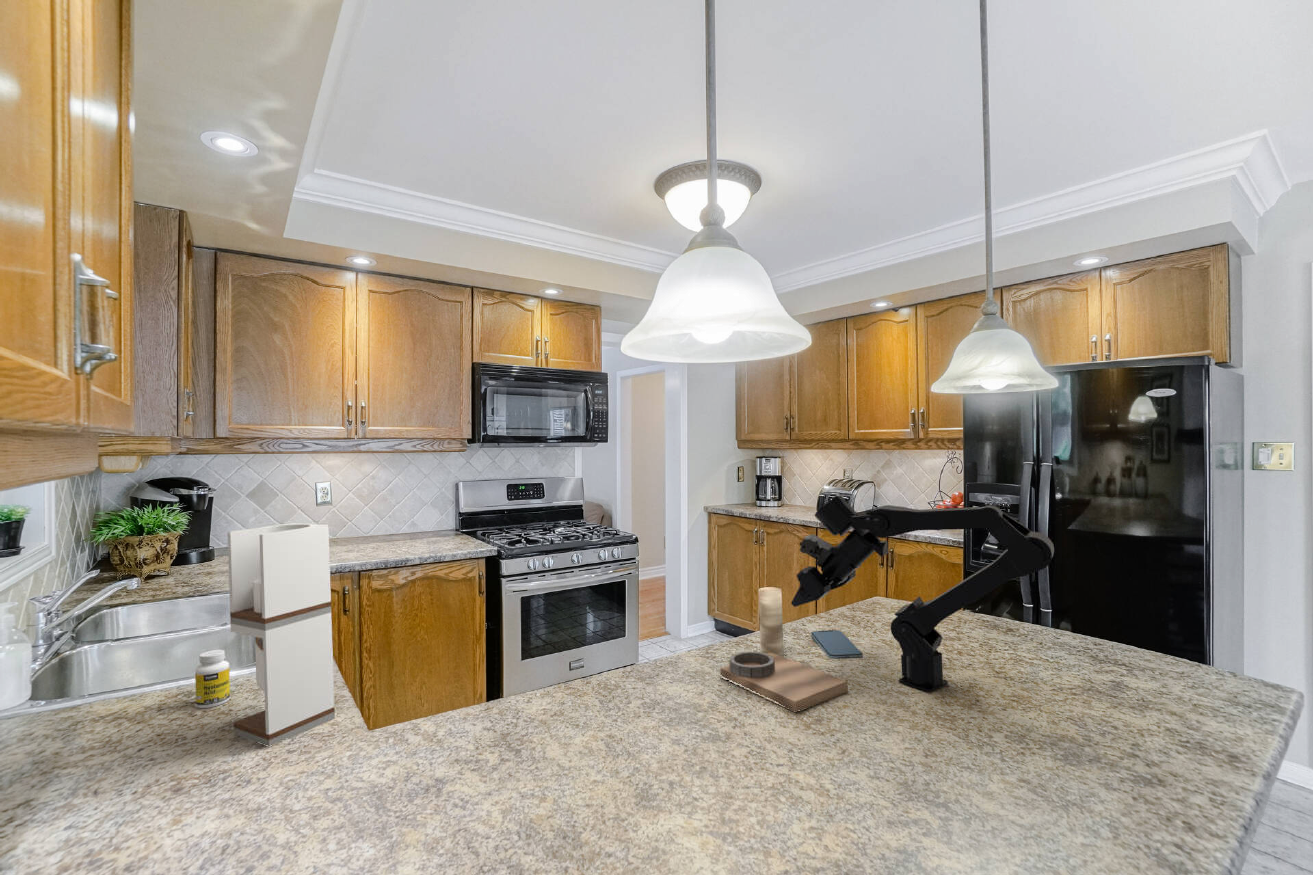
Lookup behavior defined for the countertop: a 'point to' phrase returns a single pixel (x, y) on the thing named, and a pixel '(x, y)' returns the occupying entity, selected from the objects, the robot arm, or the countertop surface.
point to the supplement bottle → (212, 679)
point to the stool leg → (771, 620)
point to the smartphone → (835, 644)
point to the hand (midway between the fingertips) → (802, 599)
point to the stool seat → (783, 679)
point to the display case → (284, 625)
